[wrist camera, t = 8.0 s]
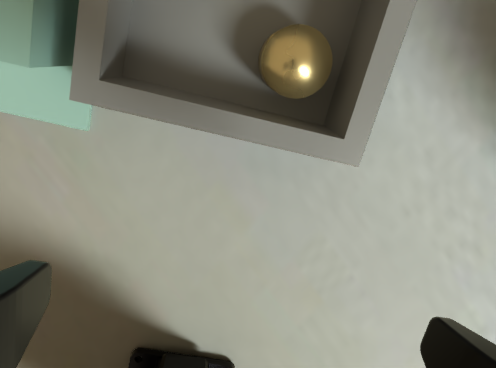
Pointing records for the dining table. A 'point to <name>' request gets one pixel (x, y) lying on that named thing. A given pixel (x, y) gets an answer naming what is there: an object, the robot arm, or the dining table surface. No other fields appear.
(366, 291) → the dining table surface
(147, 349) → the robot arm
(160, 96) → the tub
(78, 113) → the lid
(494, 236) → the dining table surface
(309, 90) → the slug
